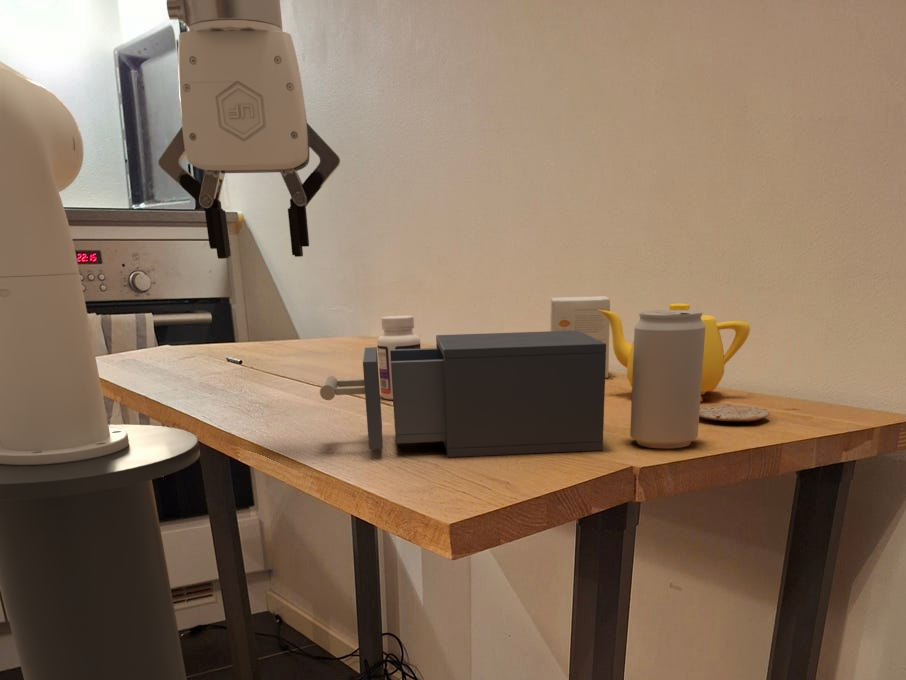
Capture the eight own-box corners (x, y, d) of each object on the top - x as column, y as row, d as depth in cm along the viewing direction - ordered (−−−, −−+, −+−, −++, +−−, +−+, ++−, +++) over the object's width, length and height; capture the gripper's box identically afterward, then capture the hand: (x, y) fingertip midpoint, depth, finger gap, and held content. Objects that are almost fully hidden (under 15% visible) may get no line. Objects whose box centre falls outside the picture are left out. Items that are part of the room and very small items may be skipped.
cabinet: (447, 457, 83) (443, 349, 80) (439, 430, 95) (435, 335, 91) (602, 450, 85) (606, 343, 81) (576, 425, 96) (578, 330, 92)
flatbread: (678, 416, 98) (679, 407, 98) (729, 408, 102) (730, 399, 101) (734, 428, 92) (735, 418, 92) (785, 419, 96) (786, 409, 95)
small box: (605, 373, 131) (607, 295, 127) (608, 378, 126) (611, 298, 121) (549, 374, 131) (550, 297, 127) (551, 379, 126) (551, 299, 122)
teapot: (588, 401, 109) (590, 307, 105) (602, 387, 119) (605, 300, 114) (742, 405, 104) (752, 306, 100) (744, 390, 114) (752, 300, 110)
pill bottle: (428, 393, 117) (424, 314, 113) (416, 400, 113) (411, 318, 109) (388, 393, 119) (383, 314, 115) (375, 400, 114) (369, 318, 110)
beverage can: (674, 453, 83) (683, 315, 78) (616, 444, 87) (621, 312, 82) (709, 441, 87) (720, 309, 82) (652, 433, 91) (659, 307, 86)
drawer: (323, 451, 83) (314, 363, 80) (329, 427, 93) (322, 349, 90) (514, 443, 84) (513, 356, 81) (499, 420, 95) (498, 342, 91)
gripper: (113, 6, 69) (153, 260, 77) (339, 5, 71) (357, 255, 78) (137, 27, 76) (171, 258, 84) (342, 26, 78) (359, 254, 85)
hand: (261, 255), depth 81 cm, fingers open, 5 cm apart
